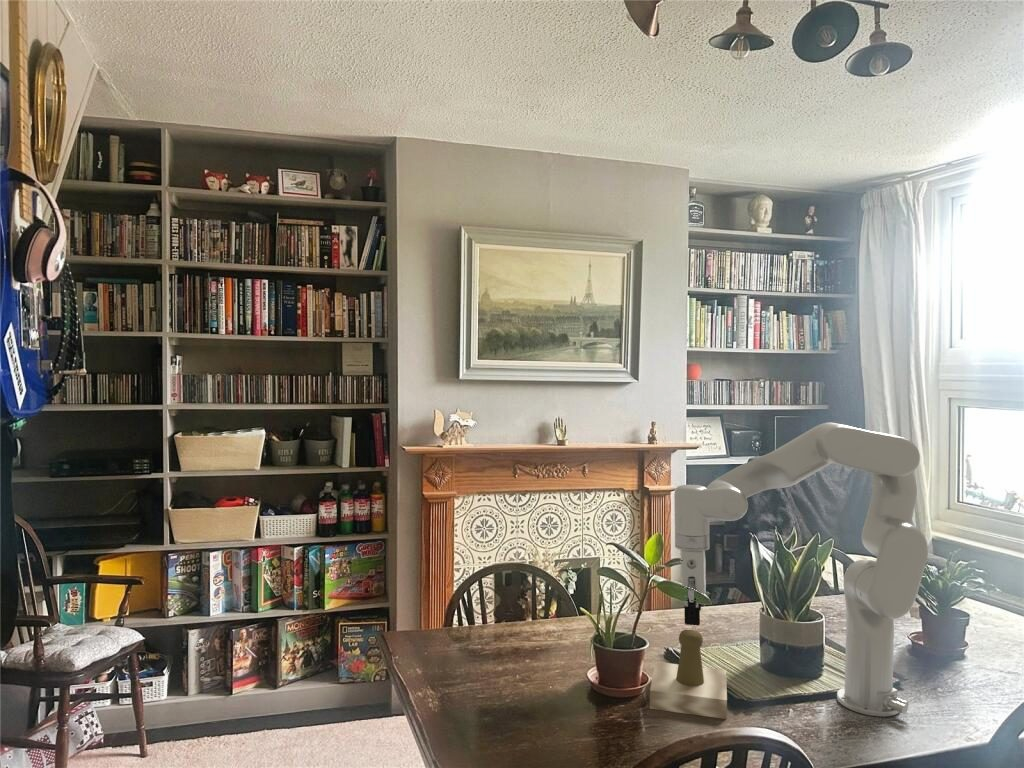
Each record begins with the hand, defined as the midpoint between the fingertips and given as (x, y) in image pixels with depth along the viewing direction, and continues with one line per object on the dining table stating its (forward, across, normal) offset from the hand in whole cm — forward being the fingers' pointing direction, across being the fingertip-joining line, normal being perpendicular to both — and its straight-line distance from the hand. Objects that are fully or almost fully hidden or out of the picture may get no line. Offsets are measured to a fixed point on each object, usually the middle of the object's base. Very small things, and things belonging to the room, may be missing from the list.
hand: (692, 617), depth 163 cm
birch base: (+18, 0, +1) cm, 18 cm away
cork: (+14, 0, +1) cm, 14 cm away
